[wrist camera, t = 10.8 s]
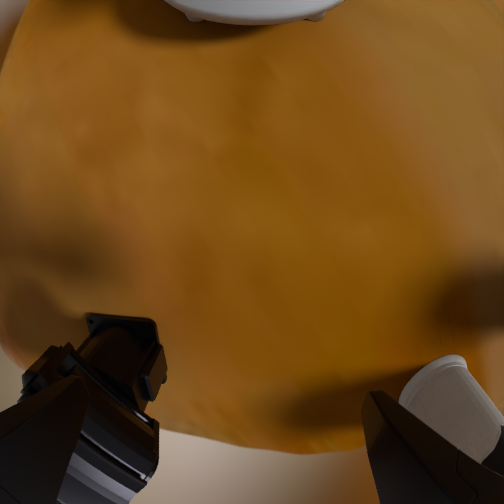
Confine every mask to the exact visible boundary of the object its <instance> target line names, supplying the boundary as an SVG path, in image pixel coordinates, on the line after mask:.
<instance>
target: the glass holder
mask: <svg viewBox="0 0 504 504" xmlns="http://www.w3.org/2000/svg"><path fill="white" fill-rule="evenodd" d="M399 404H401V405H402V406H403V407H405V408H406V409H407V410H408V411H410V412H411V413H412V414H414V415H415V416H416V417H417V418H419V419H420V420H421V421H423V422H424V423H425V424H427V425H428V426H429V427H430V428H432V429H433V430H434V431H436V432H437V433H438V434H440V435H441V436H442V437H444V438H445V439H446V440H448V441H449V442H450V443H452V444H453V445H454V446H456V447H457V450H458V449H460V450H461V451H463V452H464V453H465V454H467V455H468V456H470V457H471V458H472V459H474V460H475V461H477V462H478V463H480V464H482V465H483V466H485V467H487V468H488V469H490V470H492V471H494V472H496V473H498V474H500V475H501V476H503V477H504V417H503V416H502V414H501V413H500V412H499V410H498V409H497V408H496V406H495V405H494V403H493V402H492V401H491V399H490V398H489V397H488V395H487V394H486V393H485V392H484V390H483V389H482V388H481V386H480V385H479V384H478V383H477V381H476V380H475V379H474V377H473V376H472V375H471V374H470V372H469V371H468V370H467V365H466V362H465V360H464V358H462V357H461V356H459V355H454V354H453V355H446V356H443V357H440V358H438V359H436V360H434V361H432V362H430V363H429V364H427V365H426V366H425V367H423V368H422V369H421V370H420V371H418V372H417V373H416V374H415V375H414V376H413V377H412V378H411V379H410V381H409V382H408V383H407V384H406V386H405V387H404V389H403V391H402V393H401V395H400V398H399Z"/></svg>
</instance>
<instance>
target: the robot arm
mask: <svg viewBox="0 0 504 504" xmlns="http://www.w3.org/2000/svg"><path fill="white" fill-rule="evenodd" d="M91 319H92V320H93V321H92V320H91ZM86 321H87V324H88V328H89V331H90V335H89V336H88V337H87V339H86V340H85V341H84V342H83V343H82V344H81V346H80V347H79V348H78V349H77V350H76V351H75V349H74V347H73V346H72V344H71V343H70V342H68V343H67V344H66V345H65V346H64V347H62V346H60V347H56V346H53V345H51V346H50V347H49V348H48V349H47V350H46V351H45V352H44V354H43V355H42V356H41V357H40V358H39V359H38V360H37V361H36V362H35V363H34V364H33V365H32V366H30V367H29V368H28V369H27V370H26V372H25V373H24V374H23V375H22V384H23V389H22V390H21V393H22V396H21V397H20V399H19V400H18V401H17V404H16V405H13V406H12V407H10V408H8V409H6V410H4V411H2V412H0V504H129V502H130V501H131V500H132V499H133V497H134V496H135V495H136V494H137V493H138V492H139V491H140V490H141V489H143V488H144V487H145V486H146V485H147V482H148V481H149V480H150V479H151V478H152V476H153V475H154V473H155V471H156V469H157V465H158V461H159V422H158V421H157V420H155V419H154V418H151V417H149V416H148V415H147V414H145V413H144V411H145V408H146V406H147V404H148V401H151V402H153V401H154V400H155V399H156V397H157V394H158V391H159V389H160V386H161V384H164V383H165V382H166V380H167V375H166V372H167V364H166V359H165V354H164V349H163V346H162V345H161V344H160V342H159V336H158V331H157V325H156V323H155V322H154V321H153V320H150V319H138V318H126V317H116V316H106V315H96V314H90V315H89V316H88V317H87V318H86ZM148 325H151V326H152V328H151V327H149V326H148ZM361 414H362V421H363V427H364V434H365V441H366V448H367V454H368V458H369V462H370V466H371V470H372V474H373V477H374V481H375V485H376V489H377V493H378V497H379V501H380V504H504V477H503V476H501V475H500V474H498V473H496V472H494V471H492V470H490V469H488V468H487V467H485V466H483V465H482V464H480V463H478V462H477V461H475V460H474V459H472V458H471V457H470V456H468V455H467V454H465V453H464V452H463V451H461V450H460V449H458V450H457V447H456V446H454V445H453V444H452V443H450V442H449V441H448V440H446V439H445V438H444V437H442V436H441V435H440V434H438V433H437V432H436V431H434V430H433V429H432V428H430V427H429V426H428V425H427V424H425V423H424V422H423V421H421V420H420V419H419V418H417V417H416V416H415V415H414V414H412V413H411V412H410V411H408V410H407V409H406V408H405V407H403V406H402V405H401V404H399V403H398V402H397V401H396V400H394V399H393V398H392V397H390V396H389V395H388V394H387V393H385V392H384V391H383V390H381V389H378V390H371V391H368V393H367V395H366V398H365V401H364V404H363V407H362V411H361Z"/></svg>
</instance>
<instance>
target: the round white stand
mask: <svg viewBox="0 0 504 504" xmlns="http://www.w3.org/2000/svg"><path fill="white" fill-rule="evenodd" d="M164 1H165V2H167V3H168V4H170V5H171V6H172V7H174V8H176V9H178V10H180V11H181V12H184V13H185V15H186V17H187V18H188V20H190V21H192V22H199V21H202V20H204V19H205V20H208V21H214V22H219V23H225V24H235V25H273V24H281V23H289V22H294V21H299V20H304V19H308V20H311V21H320V20H322V19H323V18H324V16H325V14H326V12H327V11H329V10H331V9H333V8H334V7H336V6H338V5H339V4H341V3H342V2H343V1H344V0H164Z"/></svg>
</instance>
